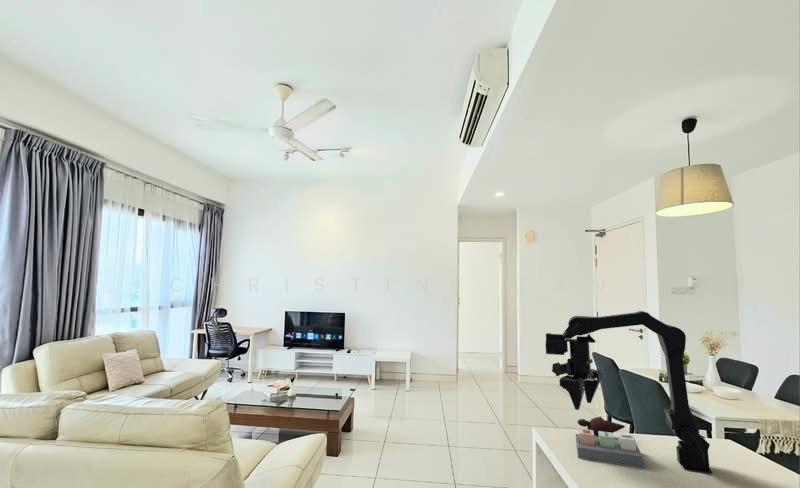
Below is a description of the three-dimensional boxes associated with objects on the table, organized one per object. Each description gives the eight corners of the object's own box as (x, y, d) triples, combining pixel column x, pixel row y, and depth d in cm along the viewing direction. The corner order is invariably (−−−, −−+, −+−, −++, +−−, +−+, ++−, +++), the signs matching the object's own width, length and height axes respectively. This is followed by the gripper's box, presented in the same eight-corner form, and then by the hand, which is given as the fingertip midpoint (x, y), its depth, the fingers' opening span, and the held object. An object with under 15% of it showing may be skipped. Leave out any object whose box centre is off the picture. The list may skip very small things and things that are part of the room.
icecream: (617, 414, 133) (573, 416, 134) (626, 415, 126) (579, 418, 127) (623, 436, 130) (578, 438, 132) (632, 439, 123) (584, 441, 125)
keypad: (635, 451, 117) (635, 441, 118) (643, 467, 107) (642, 456, 108) (576, 443, 124) (575, 433, 124) (578, 457, 114) (577, 447, 114)
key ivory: (633, 448, 115) (632, 434, 115) (636, 453, 111) (635, 439, 112) (618, 446, 116) (618, 432, 117) (621, 451, 113) (620, 437, 113)
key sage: (613, 445, 117) (612, 432, 117) (615, 450, 113) (614, 436, 114) (599, 443, 118) (598, 430, 119) (600, 448, 115) (599, 435, 115)
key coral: (593, 442, 119) (592, 429, 119) (595, 448, 115) (594, 434, 116) (579, 440, 121) (579, 427, 121) (580, 445, 117) (579, 432, 117)
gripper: (567, 349, 133) (570, 394, 131) (542, 356, 121) (544, 407, 119) (601, 353, 125) (604, 401, 123) (577, 361, 112) (580, 415, 111)
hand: (583, 406), depth 119 cm, fingers open, 9 cm apart
